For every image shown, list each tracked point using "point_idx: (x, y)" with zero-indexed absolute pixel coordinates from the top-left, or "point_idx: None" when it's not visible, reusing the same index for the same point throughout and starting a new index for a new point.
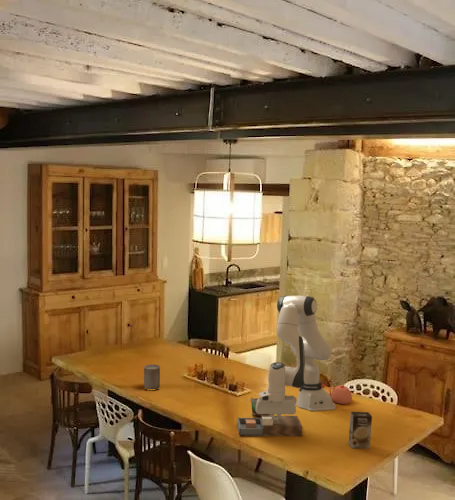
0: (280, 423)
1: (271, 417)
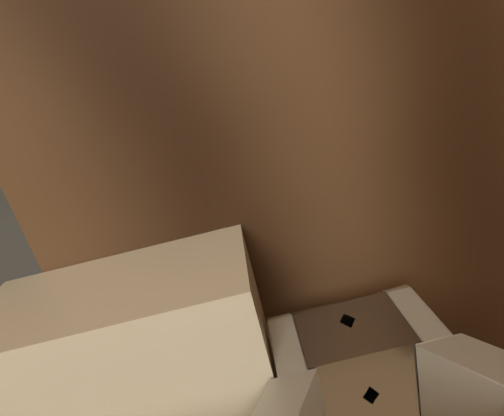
0: (447, 271)
1: (248, 333)
